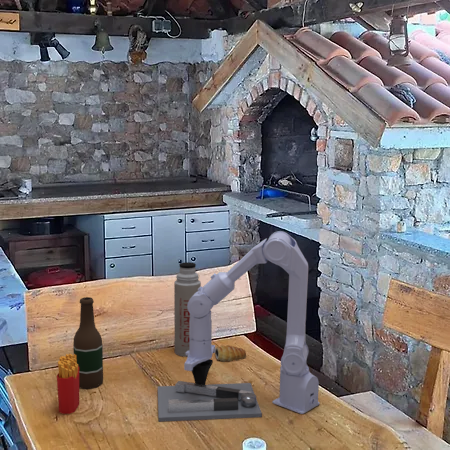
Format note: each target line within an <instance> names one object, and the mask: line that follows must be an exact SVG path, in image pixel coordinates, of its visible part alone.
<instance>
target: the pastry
mask: <svg viewBox="0 0 450 450" xmlns="http://www.w3.org/2000/svg"><path fill="white" fill-rule="evenodd" d="M246 352H247V351H246V350H245V349H243V348H241V347H237V346H233V345H229V344H228V345H220V346H219V345H217V346H215V353H214V355H215V356H216V357H215V358H216V360H217V361H219V360H220V361H219V362H225V361H226V362H227V361H228V362H234V361H233V360H236V361H240V360H239V359H241V360H243V359H246V357H247V353H246Z"/></svg>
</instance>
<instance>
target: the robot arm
mask: <svg viewBox="0 0 450 450" xmlns="http://www.w3.org/2000/svg"><path fill="white" fill-rule="evenodd" d="M268 261H269V262H271V263H272V264H275V265H276V266H279V267H280V268H282V269H283V270H284V271H285V272H286V273H287V274H288V275H289V276H288V296H287V297H288V298H287V299H288V301H287V317H286V318H287V319H286V321H287V322H286V337H285V344H284V348H283V354H282V356H281V357H280V367H279V368H280V370H279V371H280V372H279V397H278V398H275V399H273V400H272V401H271V402H272V404H274V405H276V406H278V407H282V408H285V409H287V410H289V411H292V412H296V413H298V414H301V415H303V414H306V413H307V412H308V411H311V410H312V409H313V408H316V407H317V406H319V405H320V401H319V387H320V386H319V385H320V382H319V378H318V377H317V376H315V375H314V374H313V373H311V372H310V368H309V366H308V364H307V359H308V357H309V346H308V345H307V343H306V342H307V341H306V321H307V304H308V303H307V301H308V300H307V299H308V283H309V282H308V281H309V280H308V279H309V262H308V261H307V258H305V256H304V254H303V252H302V251H301V249H300V247H299V245H298V242H297V241H296V239H295V238H293V237H292V236H291V235H290V234H288V233H287V232H285V231H281V230H279V231H278V230H277V231H275V232H272V233H271V235H270V236H269V237H268V238H265V239H263V240H262V241H260V242H259V243H258V244H256V245H255V246H253V247H252V248H251V249H250V250H249V251H248V252H247V253H246V254H245V255H244V256H243V257H242V258H241V259H239V260H238V261H237V262H236V264H234V265H233V266H232V267H231V268H230V269H229V270H228V271H226V272H225V271H219V272H218V273H217V274H216V273H215V272H214V273H213V274H212V275H211V276H210V280H209V281H208V282H207V283H206V284H204V286H202V285H201V287H199V288H198V292H196V293H195V294H194V295H193V296H192V297H191V298H190V300H189V302H188V305H187V308H188V311H189V313H190V322H189V323H190V327H189V338H190V341H189V350H188V351H187V352H186V355H188V357H186V360H185V362H184V363H183V364H184V367H183V369H184V371H187V372H188V371H189V372H191V373H192V376H193V377H192V378H193V380H194V383H197V384H204V385H206V383H207V379H208V378H207V377H208V375H209V371H210V369H211V367H212V365H213V363H214V360H213V359H212V357H213V354H215V349H216V345H215V344H212V333H213V332H212V330H213V327H212V309H213V307H214V306H217V305H218V304H219V303H220V302H221V301H222V300H224V299H225V298H226V297H227V296H228V295H230V294H231V292H233V291H234V290H235V288H236V287H235V284H236V283H235V282H236V281H238V280H239V279H240V278H241V277H242V276H243V275H245V274H246V273H247V272H248V271H250V270H251V269H252V268H253V267H255V265H258V264H263V265H264V264H267V263H268Z"/></svg>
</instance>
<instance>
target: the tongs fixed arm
mask: <svg viewBox="0 0 450 450" xmlns="http://www.w3.org/2000/svg"><path fill="white" fill-rule="evenodd" d="M168 402H169V413H174V412H197V411H226V410H238V398H221V399H205V400H180V401H178V399H174V400H168Z"/></svg>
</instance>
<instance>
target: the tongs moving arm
mask: <svg viewBox="0 0 450 450" xmlns="http://www.w3.org/2000/svg"><path fill="white" fill-rule="evenodd" d="M174 386H175V391H176V392H183V393H184V392H191V393H197V394H203V395H210V396H216V397H220V398H238V400H241V405H243V406H245V407H252V406H255V405H256V399H257V395H256V393H254V394H253V393H252V392H250V391H243V390H239V389H232V388H226V387H219V386H218V387H217V386H210V385H209V384H205V385H204V384H197V383H195V382H189V381H184V380H183V381H182V380H177V381H176V383H175V385H174Z"/></svg>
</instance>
